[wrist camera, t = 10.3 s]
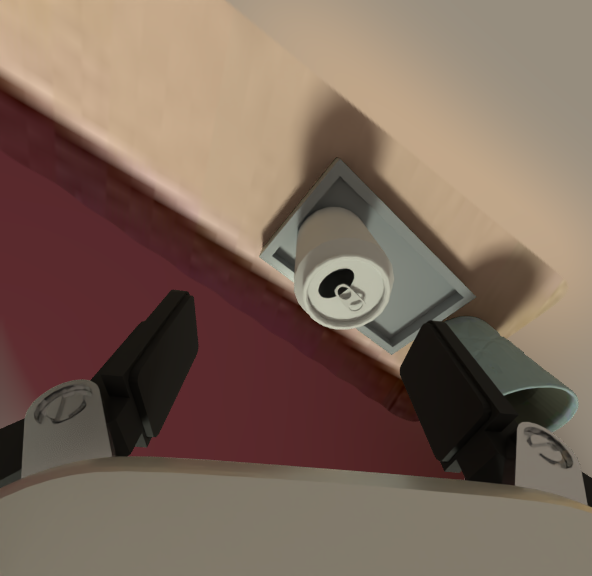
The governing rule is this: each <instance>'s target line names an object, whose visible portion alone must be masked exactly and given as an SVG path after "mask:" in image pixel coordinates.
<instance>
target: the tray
mask: <svg viewBox="0 0 592 576" xmlns="http://www.w3.org/2000/svg"><path fill="white" fill-rule="evenodd" d="M326 207H341V208H344V209H347V210H350V211H352V212H353V213H354V214H355V215H356V216H358V217H359V218H360V220H361V221H362V222H363V224H364V225H365V226H366V228H367V229H368V230H369V232H370V233H371V235H372V236H373V237H374V239H375V240H376V241H377V243H378V244H379V245H380V247H381V248H382V250H383V251H384V252H385V254H386V256H387V257H388V259H389V261H390V262H391V264H392V268H393V274H394V282H393V286H392V291H391V294H390V298H389V302H388V304H387V305H386V307H385V308H384V310H383V312H382V313H381V314H380V315H378V316H377V317H376V318H375V319H374V320H373V321H371V322H369V323H367V324H365V325H363V326H361V327H357V328H356V329H357V330H359V331H360V332H361V333H363V334H364V335H365V336H367V337H368V338H370V339H371V340H372V341H374V342H375V343H376V344H378V345H379V346H380V347H382V348H383V349H384V350H386V351H387V352H388V353H390V354H391V355H392V354H394V353H395V352H397V351H398V350H400V349H401V348H403V347H404V346H405V345H407V344H408V343H410V342H411V341H413V340H414V339H415V338H416V336H417V334H418V332H419V330H420V328H421V326H422V325H423V324H424V323H426V322H427V321H429V320H433V321H442V320H444V319H445V318H447V317H448V316H449V315H451V314H452V313H454V312H455V311H457V310H458V309H460V308H461V307H463V306H464V305H466V304H467V303H469V302H470V301H471V300H473V299H474V298H476V296H475V295H474V294H473V293H472V292H471V291H470V290H469V289H468V288H467V287H466V286H465V285H464V284H463V283H462V282H461V281H460V280H459V279H458V278H457V277H456V276H455V275H454V274H453V273H452V272H451V271H450V270H449V269H448V268H447V267H446V266H445V265H444V264H443V263H442V262H441V261H440V260H439V259H438V258H437V257H436V256H435V255H434V254H433V253H432V252H431V251H430V249H429V248H428V247H427V246H426V245H425V244H424V243H423V242H422V241H421V240H420V239H419V238H418V237H417V236H416V235H415V234H414V233H413V232H412V231H411V230H410V229H409V228H408V227H407V226H406V225H405V224H404V223H403V222H402V221H401V220H400V219H399V218H398V217H397V216H396V215H395V214H394V213H393V212H392V211H391V210H390V209H389V208H388V207H387V206H386V205H385V204H384V203H383V202H382V201H381V200H380V199H379V198H378V197H377V196H376V195H375V194H374V193H373V192H372V191H371V190H370V189H369V188H368V187H367V186H366V185H365V184H364V183H363V182H362V181H361V180H360V179H359V177H358V176H357V175H356V174H355V173H354V172H353V171H352V170H351V169H350V168H349V167H348V166H347V165H346V164H345V163H344V162H343V161H342V160H341V159H340V158H336V159H335V160H334V161H333V163H332V164H331V165H330V166H329V167H328V169H327V170H326V171H325V172H324V174H323V175H322V176H321V177H320V178H319V180H318V181H317V182H316V183H315V185H314V186H313V187H312V188H311V189H310V191H309V192H308V193H307V194H306V196H305V197H304V198H303V199H302V201H301V202H300V203H299V204H298V205H297V207H296V208H295V209H294V210H293V212H292V213H291V214H290V215H289V216H288V218H287V219H286V220H285V221H284V223H283V224H282V225H281V226H280V228H279V229H278V230H277V231H276V232H275V234H274V235H273V236H272V237H271V239H270V240H269V241H268V242H267V243H266V245H265V246H264V247H263V248H262V251H261V253H260V256H259V257H260V258H261V259H263V260H264V261H265V262H267V263H268V264H269V265H271V266H272V267H273V268H275V269H276V270H278V271H279V272H280V273H282V274H283V275H284V276H286V277H287V278H288V279H290V280H291V281H292V282H294V271H295V258H296V244H297V235H298V232H299V229H300V226H301V225H302V224H303V222H304V221H305V220H306V218H307V217H308V216H310V215H311V214H313V213H314V212H315V211H317V210H320V209H323V208H326Z"/></svg>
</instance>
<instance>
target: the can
mask: <svg viewBox="0 0 592 576" xmlns="http://www.w3.org/2000/svg"><path fill="white" fill-rule="evenodd" d="M393 282H394V274H393V268H392V264H391V262H390V261H389V259H388V257H387V256H386V254H385V252H384V251H383V250H382V248H381V247H380V245H379V244H378V243H377V241H376V240H375V239H374V237H373V236H372V235H371V233H370V232H369V230H368V229H367V228H366V226H365V225H364V224H363V222H362V221H361V220H360V218H359V217H358V216H356V215H355V214H354V213H353V212H352V211H350V210H347V209H344V208H341V207H326V208H323V209H320V210H317V211H315V212H314V213H313V214H311V215H310V216H308V217H307V218H306V220H305V221H304V222H303V224H302V225H301V226H300V229H299V232H298V235H297V244H296V258H295V271H294V292H295V295H296V297H297V300H298V303H299V304H300V305H301V306H302V308H303V309H304V310H305V311H306V312H307V313H308V314H309V315H310V316H311V318H312V319H313V320H315V321H316V322H318V323H320V324H321V325H323V326H326V327H329V328H333V329H352V328H357V327H361V326H363V325H365V324H367V323H369V322H371V321H373V320H374V319H375V318H376V317H377V316H378V315H380V314H381V313H382V312H383V310H384V308H385V307H386V305H387V304H388V302H389V298H390V294H391V291H392V286H393Z"/></svg>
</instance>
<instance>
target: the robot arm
mask: <svg viewBox="0 0 592 576" xmlns="http://www.w3.org/2000/svg"><path fill="white" fill-rule="evenodd" d="M197 352H198V336H197V326H196V316H195V306H194V297H193V296H190V295H189V293H188V292H187V291H180V290H171V291H170V292H169V293H168V295H167V296H166V297H165V298H164V299H163V300H162V302H161V303H160V304H159V305H158V306H157V308H156V309H155V310H154V311H153V312H152V314H151V315H150V316H149V317H148V318H147V319H146V321H143V322H141V323H140V324H139V325H138V326H137V327H136V328H135V330H134V331H133V332H132V333H131V334H130V335H129V336H128V338H127V339H126V340H125V341H124V342H123V343H122V345H121V346H120V347H119V348H118V349H117V350H116V352H115V353H114V354H113V355H112V356H111V357H110V359H109V360H108V361H107V362H106V363H105V364H104V365H103V367H102V368H101V369H100V370H99V371H98V372H97V374H96V375H95V376H94V377H93V378H92V379H91V380H90V381H89V380H74V381H69V382H66V383H63V384H60V385H58V386H56V387H54V388H51V389H50V390H48V391H47V392H46V393H44V394H42V395H41V396H40V397H39V398H38V399H36V400H35V401H34V402H33V403H32V405H31V406H30V408H29V409H28V410H27V413H26V416H25V418H24V419H22V420H20V421H17V422H15V423H13V424H11V425H8V426H6V427H4V428H2V429H0V576H592V478H591V477H589V476H588V475H586V474H585V473H583V472H582V471H581V466H580V463H579V461H578V458H577V457H576V455H575V454H574V452H573V451H572V450H571V449H570V448H569V447H568V446H567V445H566V444H565V442H564V441H562V440H561V439H560V438H559V437H558V436H556V435H555V434H554V433H552V432H551V431H549V430H547V429H546V428H544V427H542V426H540V425H538V424H534V423H531V422H522V423H520V424H519V425H518V424H517V422H516V421H515V420H514V419H515V418H516V417H517V416H518V415H519V414H518V413H517V412H516V410H515V409H514V408H513V407H512V405H511V404H510V403H509V402H508V400H507V399H506V398H505V397H504V395H503V394H502V393H501V392H500V390H499V389H498V388H497V387H496V385H495V384H494V383H493V381H492V380H491V379H490V378H489V376H488V375H487V374H486V373H485V371H484V370H483V369H482V368H481V366H480V365H479V364H478V363H477V361H476V360H475V359H474V358H473V356H472V355H471V354H470V352H469V351H468V350H467V349H466V347H465V346H464V345H463V344H462V342H461V341H460V340H459V339H458V337H457V336H456V335H455V334H454V332H453V331H452V330H451V329H450V327H449V326H448V325H447V324H446V323H445V322H442V321H433V320H429V321H427V322H426V323H424V324H423V325H422V326H421V328H420V330H419V332H418V334H417V336H416V338H415V340H414V342H413V344H412V346H411V348H410V349H409V351H408V353H407V355H406V357H405V359H404V361H403V363H402V365H401V367H400V375H401V378H402V380H403V383H404V385H405V387H406V390H407V392H408V394H409V397H410V399H411V402H412V404H413V406H414V409H415V411H416V413H417V416H418V418H419V420H420V423H421V425H422V427H423V429H424V432H425V435H426V437H427V439H428V441H429V444H430V446H431V449H432V451H433V453H434V455H435V457H436V459H438V460H439V461H440V462H441V464H442V467H443V469H444V471H445V472H457V473H459V472H461V471H462V472H463V474H464V476H465V480H455V479H444V478H432V477H420V476H408V475H396V474H384V473H372V472H359V471H347V470H334V469H322V468H309V467H296V466H283V465H270V464H256V463H242V462H229V461H215V460H201V459H183V458H164V457H127V456H128V455H130V454H131V452H132V451H133V449H134V447H135V446H136V447H147V446H148V444H149V442H150V440H151V438H152V437H156V436H157V435H158V434H159V432H160V430H161V428H162V426H163V424H164V422H165V420H166V418H167V416H168V414H169V412H170V409H171V407H172V405H173V403H174V401H175V399H176V397H177V395H178V393H179V391H180V388H181V386H182V384H183V382H184V380H185V378H186V376H187V374H188V372H189V369H190V367H191V365H192V363H193V361H194V359H195V357H196V355H197Z"/></svg>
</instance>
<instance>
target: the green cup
mask: <svg viewBox="0 0 592 576" xmlns="http://www.w3.org/2000/svg"><path fill="white" fill-rule="evenodd" d="M445 323H446V324H447V325H448V326H449V327H450V329H451V330H452V331H453V332H454V334H455V335H456V336H457V337H458V339H459V340H460V341H461V342H462V344H463V345H464V346H465V347H466V349H467V350H468V351H469V352H470V354H471V355H472V356H473V358H474V359H475V360H476V361H477V363H478V364H479V365H480V366H481V368H482V369H483V370H484V371H485V373H486V374H487V375H488V376H489V378H490V379H491V380H492V381H493V383H494V384H495V385H496V387H497V388H498V389H499V390H500V392H501V393H502V394H503V395H504V397H505V398H506V399H507V400H508V402H509V403H510V404H511V405H512V407H513V408H514V409H515V410H516V412H517V413H518V414H519V415H518V416H517V417H516V418H515V419H514V420H515V421H516V422H517V424H518V425H519V424H520V423H522V422H531V423H534V424H538V425H540V426H542V427H544V428H546V429H547V430H549V431H551V432H554V431H555V430H557V429H559V428H561V427H562V426H563V425H564V424H566V423H567V422H568V421H569V420H570V419H571V418H572V417H573V415H574V414H575V413H576V411H577V409H578V398H577V396H576V394H575V393H574V392H573V391H572V390H571V389H569V388H568V387H566V386H565V385H564V384H563V383H562V382H560V381H559V380H558V379H556V378H555V377H554V376H552V375H551V374H550V373H549V372H547V371H546V370H544V369H543V368H542V367H541V366H539V365H538V364H537V363H535V362H534V361H533V360H532V359H530V358H529V357H528V356H526V355H525V354H524V352H522V351H521V350H520V349H519V348H517V347H516V346H515V345H513V344H512V343H511V342H510V341H509V340H507V339H506V338H504V337H501V336H500V334H499V333H498V332H497V331H496V330H495V329H494V328H492V327H491V326H490V325H489V324H487V323H486V322H485V321H483V320H481V319H479V318H476V317H471V316H462V317H457V318H453V319H450V320H447V321H445Z"/></svg>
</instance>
